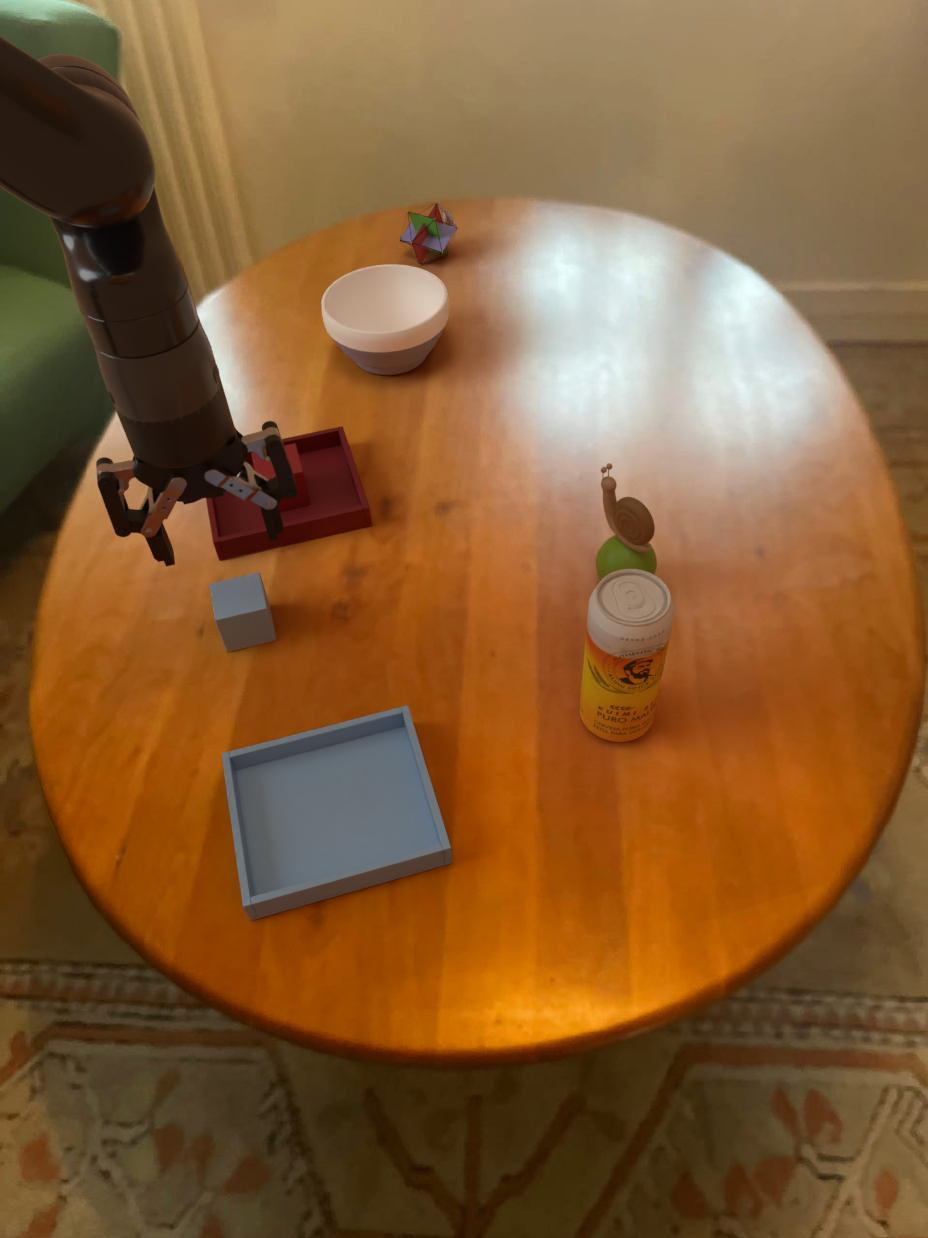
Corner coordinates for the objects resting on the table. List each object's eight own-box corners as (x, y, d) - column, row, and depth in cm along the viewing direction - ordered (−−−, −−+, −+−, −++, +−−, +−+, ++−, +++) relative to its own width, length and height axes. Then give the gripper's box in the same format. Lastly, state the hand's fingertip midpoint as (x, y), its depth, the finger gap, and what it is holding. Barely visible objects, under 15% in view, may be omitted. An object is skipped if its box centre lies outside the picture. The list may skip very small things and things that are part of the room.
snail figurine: (615, 547, 91) (626, 450, 82) (665, 585, 88) (683, 487, 78) (574, 575, 89) (581, 478, 80) (624, 614, 86) (637, 518, 76)
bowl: (440, 396, 107) (436, 337, 102) (316, 388, 109) (305, 330, 103) (461, 323, 116) (458, 265, 111) (346, 317, 118) (337, 260, 113)
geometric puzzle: (428, 266, 121) (446, 201, 119) (384, 253, 124) (400, 189, 121) (454, 276, 128) (471, 214, 125) (411, 263, 130) (427, 203, 128)
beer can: (594, 755, 76) (608, 638, 65) (568, 696, 80) (577, 575, 69) (665, 736, 77) (691, 616, 66) (635, 678, 81) (655, 556, 70)
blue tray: (250, 921, 69) (242, 907, 67) (228, 769, 77) (221, 753, 75) (453, 863, 71) (451, 847, 69) (410, 722, 79) (407, 704, 77)
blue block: (227, 652, 85) (214, 620, 81) (221, 616, 88) (209, 583, 84) (277, 640, 85) (267, 607, 82) (269, 604, 88) (259, 571, 85)
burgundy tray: (219, 560, 92) (213, 542, 90) (205, 474, 100) (199, 456, 98) (372, 525, 94) (369, 507, 92) (345, 444, 103) (342, 425, 101)
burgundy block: (266, 515, 95) (257, 481, 92) (260, 486, 98) (250, 452, 95) (310, 505, 96) (303, 471, 92) (303, 476, 99) (295, 442, 95)
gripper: (258, 334, 70) (298, 497, 82) (60, 374, 68) (131, 536, 80) (274, 394, 65) (314, 557, 77) (61, 439, 63) (137, 600, 75)
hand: (221, 546), depth 79 cm, fingers open, 8 cm apart
